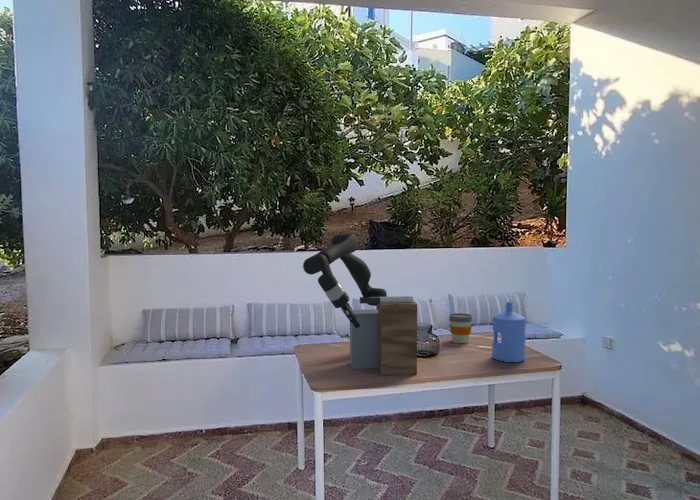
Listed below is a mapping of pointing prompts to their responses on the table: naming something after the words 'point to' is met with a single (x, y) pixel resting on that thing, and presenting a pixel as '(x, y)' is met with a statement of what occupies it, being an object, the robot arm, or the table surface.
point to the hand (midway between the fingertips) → (356, 323)
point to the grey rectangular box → (364, 340)
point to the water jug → (509, 336)
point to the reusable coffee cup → (460, 327)
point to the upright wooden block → (397, 338)
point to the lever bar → (386, 299)
